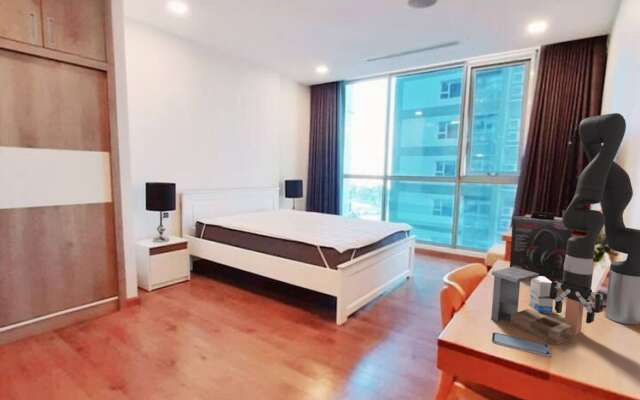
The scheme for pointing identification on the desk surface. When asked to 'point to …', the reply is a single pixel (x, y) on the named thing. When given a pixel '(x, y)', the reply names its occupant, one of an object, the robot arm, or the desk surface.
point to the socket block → (541, 326)
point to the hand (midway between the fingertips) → (573, 317)
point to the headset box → (539, 245)
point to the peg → (574, 315)
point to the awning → (508, 291)
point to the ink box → (541, 294)
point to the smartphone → (521, 344)
